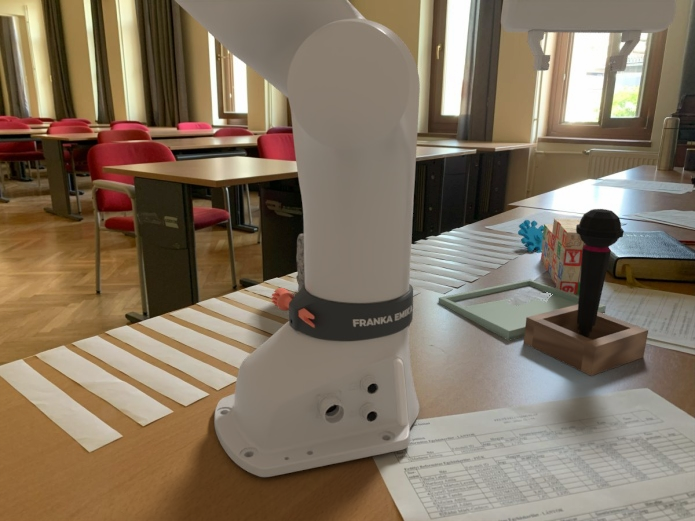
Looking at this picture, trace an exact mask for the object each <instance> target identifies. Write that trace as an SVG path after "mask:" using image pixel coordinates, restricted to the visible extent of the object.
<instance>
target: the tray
mask: <svg viewBox="0 0 695 521" xmlns="http://www.w3.org/2000/svg"><path fill="white" fill-rule="evenodd" d="M528 286H531V287H533V288H536V289H538V290H539V291H542V292H545V291H546V292H548V293H551V295H552V294H553V295H552V296H551V297H550V298H549V299H548V301H547V303H546V302H545V301H544V303H543V302H542V301H543V299H542V301H540V299H539V301H538V298H537V299H536V301H535V299H533V302H532V301H531V300H532V299H531V300H530V302H529V301H528V304H526V303H525V304H526V305H525V304H523V305H522V304H521V305H519V306H518V305H517V306H516V305H514V306H513V305H512V306H511V305H510V304H509V305H508V304H507V301H508V300H509V299H511V298H512V297H510V298H504V299H500V300H494V301H488V302H483V303H477V304H472V305H467V306H463V305H461V304H459V303H456V302H457V301H462V300H466V299H472V298H475V297H480V296H486V295H490V294H494V293H495V294H496V293H499V292H500V293H501V292H504V291H509V290H513V289H519V288H523V287H528ZM549 296H550V295H549ZM535 298H536V297H535ZM547 298H548V297H547ZM545 300H546V299H545ZM437 301H438V303H439V304H441V305H442V306H444V307H446V308H448V309H450V310H452V311H453V312H455V313H457V314H459V315H461V316H462V317H464V318H465V319H467V320H470V321H471V322H474V323H475V324H477V325H479V326H481V327H483V328H484V329H486V330H487V331H490V332H492V333H493V334H495V333H496V335H497V334H498V335H497V336H499V335H500V336H499V337H501V336H502V337H501V338H503V337H504V338H506V339H507V340H506V339H505V340H506V341H508V340H509V341H511V340H510V339H512V340H515V339H514V338H516V339H519V338H523V337H524V335H525V326H526V317H529V316H533V315H537V314H541V313H545V312H549V311H553V310H557V309H561V308H565V307H569V306H573V305H577V304H578V301H579V295H578V294H571V293H568V292H565V291H562V290H560V289H557V288H556V287H553V286H550V285H547V284H546V283H542V282H539V281H536V280H533V279H531V278H529V279H524V280H519V281H514V282H509V283H504V284H500V285H498V284H497V285H494V286H489V287H485V288H480V289H475V290H470V291H465V292H460V293H459V292H458V293H454V294H450V295H449V294H448V295H446V296H445V295H444V296H440V297H438V300H437ZM606 309H607V305H605V304H603V303H601V302H600V303H599V308H598V312H600V313H605V314H606ZM522 336H523V337H522ZM518 337H519V338H518ZM504 338H503V339H504Z"/></svg>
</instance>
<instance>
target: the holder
mask: <svg viewBox="0 0 695 521" xmlns="http://www.w3.org/2000/svg"><path fill="white" fill-rule="evenodd" d="M577 315H578V304H577V305H573V306H569V307H565V308H561V309H557V310H553V311H549V312H545V313H541V314H537V315H533V316H529V317H526V326H525V335H524V336H523V344H525V345H527V346H529V347H531V348H532V349H535V350H537V351H539V352H541V353H543V354H545V355H548V356H549V357H552V358H554V359H556V360H558V361H560V362H562V363H564V364H566V365H568V366H570V367H572V368H574V369H576V370H578V371H580V372H582V373H583V374H584V373H585V374H587V375H589V376H591V377H592V376H595V375H597V374H600V373H603V372H606V371H609V370H612V369H614V368H617V367H619V366H623V365H626V364H628V363H631V362H634V361H636V360H637V361H638V360H639V359H642V358H644V356H645V352H646V346H647V340H648V334H649V329H647V328H643V327H640V326H638V325H635V324H632V323H629V322H627V321H624V320H622V319H619V318H616V317H613V316H611V315H608V314H606V313H605V314H603V313H600V312H597V317H596V322H595V326H592V332H590V334H589V338H587V337H584V336H582V335H580V334H579V330H578V325H579V324H577Z"/></svg>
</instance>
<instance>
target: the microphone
mask: <svg viewBox="0 0 695 521" xmlns="http://www.w3.org/2000/svg"><path fill="white" fill-rule="evenodd" d="M580 219H581V221H580V223H579V224H578V225H576V232H577V234H579V235H580V237H581V240H582V241H583V242H584V243H585V245H584V246H583V248H582V262H581V275H580V288H579V294H578V296H579V301H578V315H577V324H579V325H578V330H579V334H580V335H582V336H584V337H587V338H589V334H590V332H592V326H595V322H596V317H597V312H598V308H599V303H600V304H601V298H602V294H603V293H602V292H603V289H604V284H605V279H606V274H607V271H608V266H609V263H610V262H609V261H610V257H611V249H610V247H611V246H612V245H614V244H615V243H617V241H618V240H619V239H621V238H623V237H624V232H625V230H624V229H623V228H622V224H621V220H620V219H621V218H620V217H619V215H617V214H616V213H615V212H614V211H612V210H611V209H610V210H609V209H605V208H593V209H590V210H588V211H587V212H585V213H584V214H583V215H582V216H581V218H580Z"/></svg>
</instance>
